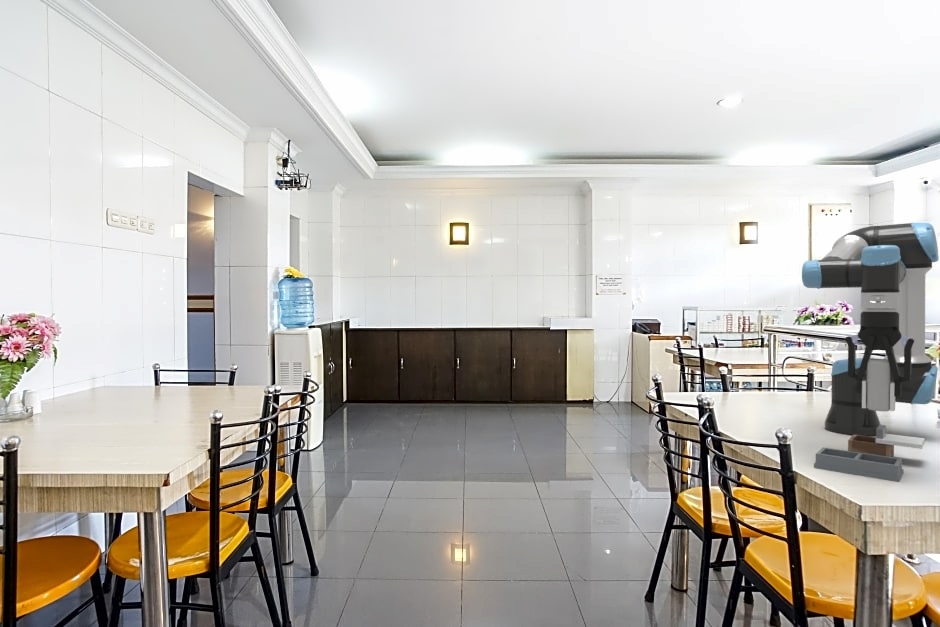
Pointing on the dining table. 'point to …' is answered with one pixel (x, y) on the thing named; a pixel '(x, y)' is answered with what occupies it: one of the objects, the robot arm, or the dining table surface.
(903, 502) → the dining table surface
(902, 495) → the dining table surface
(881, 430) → the lid
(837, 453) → the socket board
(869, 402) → the beverage can
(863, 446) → the tray
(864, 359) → the robot arm
